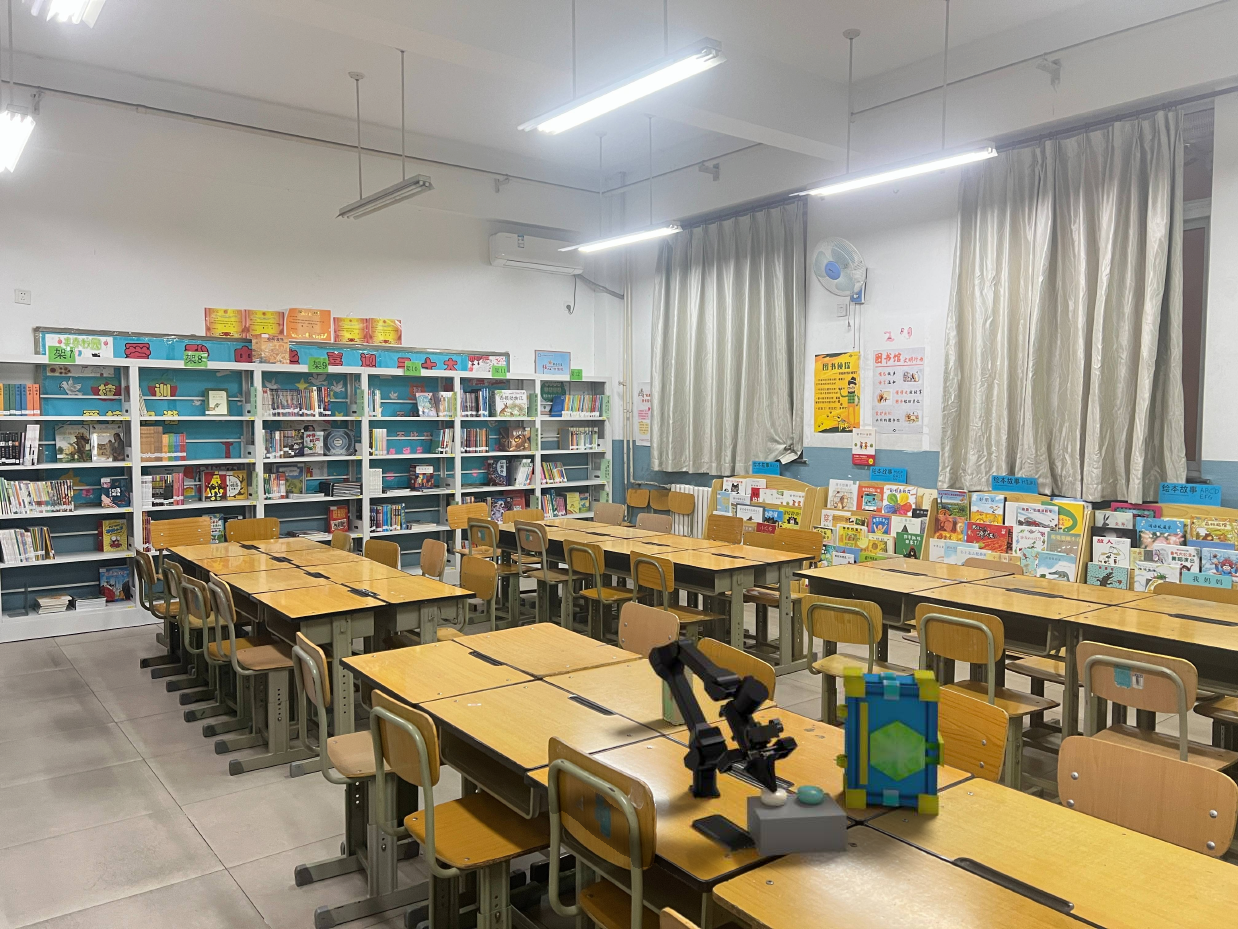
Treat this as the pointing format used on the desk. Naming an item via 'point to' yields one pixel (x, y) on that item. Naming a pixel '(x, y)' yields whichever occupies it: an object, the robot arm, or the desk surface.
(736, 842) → the phone
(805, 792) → the teal button
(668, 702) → the toy refrigerator
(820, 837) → the button box
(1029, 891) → the desk surface
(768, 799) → the cream button
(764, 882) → the desk surface
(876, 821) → the desk surface
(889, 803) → the decorative book
